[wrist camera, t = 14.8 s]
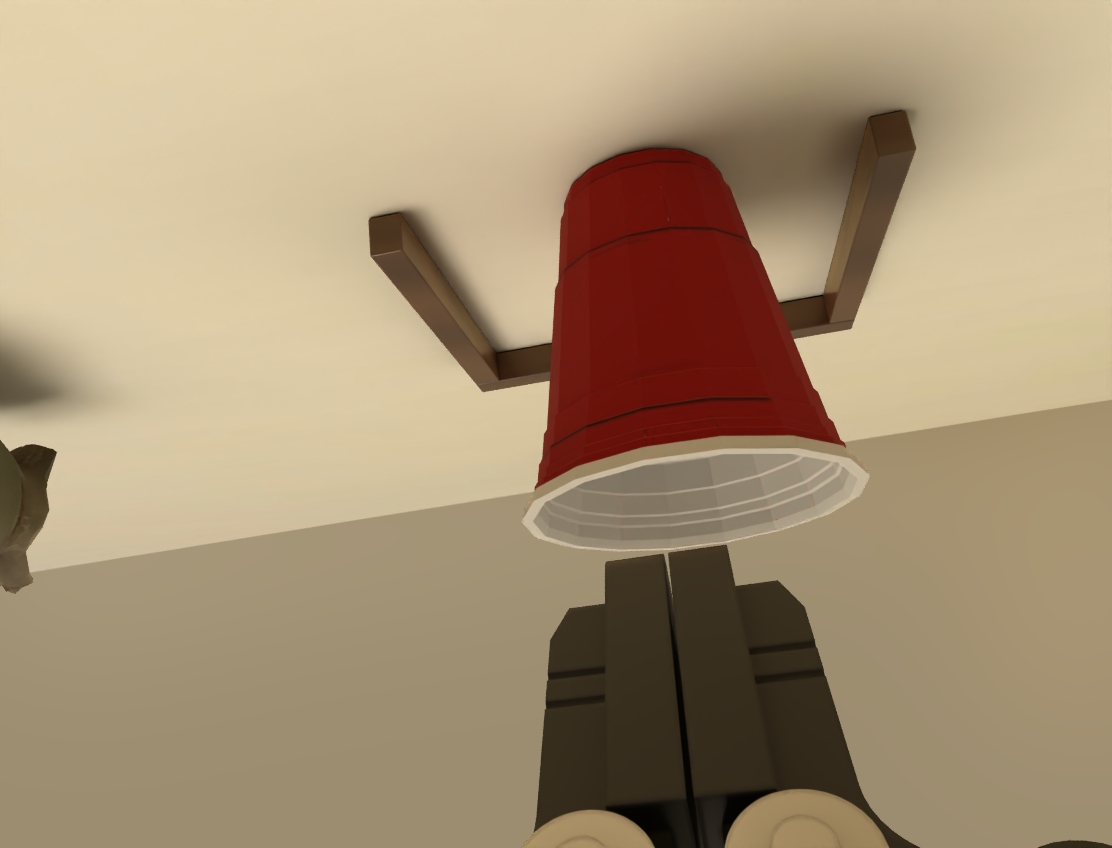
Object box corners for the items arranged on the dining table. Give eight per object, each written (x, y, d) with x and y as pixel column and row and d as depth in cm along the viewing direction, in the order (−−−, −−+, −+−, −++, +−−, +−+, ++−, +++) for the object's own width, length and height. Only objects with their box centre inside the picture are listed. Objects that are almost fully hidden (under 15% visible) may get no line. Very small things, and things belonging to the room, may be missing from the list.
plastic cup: (771, 43, 25) (863, 450, 21) (811, 216, 35) (879, 516, 31) (432, 160, 28) (462, 527, 25) (555, 288, 38) (590, 565, 34)
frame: (367, 218, 31) (369, 256, 31) (906, 109, 29) (917, 148, 28) (479, 365, 45) (482, 392, 45) (845, 301, 43) (851, 329, 42)
